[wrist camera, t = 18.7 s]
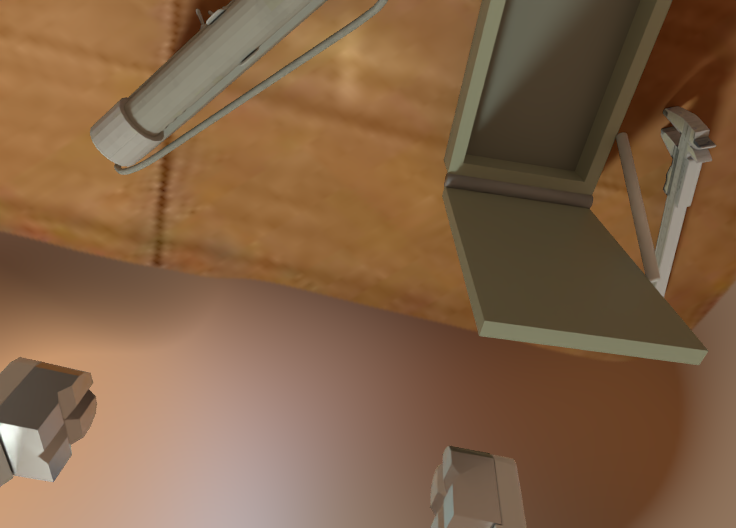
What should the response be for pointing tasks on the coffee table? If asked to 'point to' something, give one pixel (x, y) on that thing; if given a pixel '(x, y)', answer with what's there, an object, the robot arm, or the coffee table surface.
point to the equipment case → (556, 179)
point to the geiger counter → (205, 77)
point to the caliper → (679, 181)
